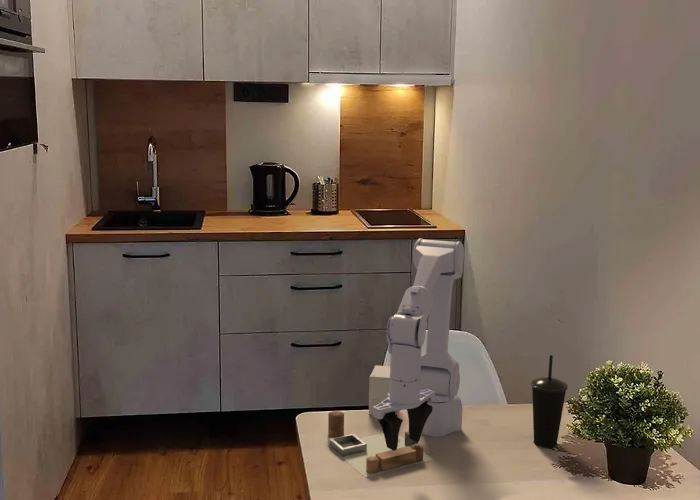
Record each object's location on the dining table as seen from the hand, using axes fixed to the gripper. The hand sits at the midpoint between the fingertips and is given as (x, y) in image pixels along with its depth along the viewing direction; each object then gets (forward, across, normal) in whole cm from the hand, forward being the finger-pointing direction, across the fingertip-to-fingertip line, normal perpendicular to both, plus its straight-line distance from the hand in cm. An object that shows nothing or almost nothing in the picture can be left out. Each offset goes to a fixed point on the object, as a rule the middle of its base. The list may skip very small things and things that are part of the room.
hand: (403, 444), depth 152 cm
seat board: (+8, -4, -11) cm, 15 cm away
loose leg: (+8, -2, -24) cm, 25 cm away
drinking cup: (+9, -37, +6) cm, 38 cm away
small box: (+9, -20, -28) cm, 35 cm away
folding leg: (+7, -4, -5) cm, 9 cm away
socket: (+7, 0, -17) cm, 18 cm away
